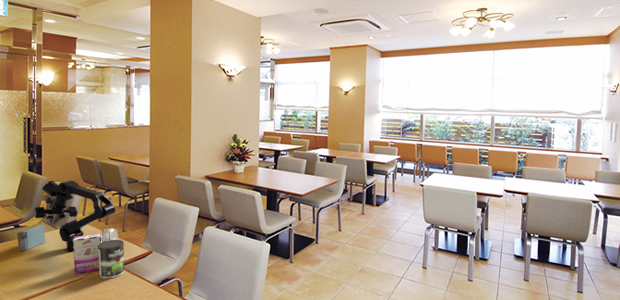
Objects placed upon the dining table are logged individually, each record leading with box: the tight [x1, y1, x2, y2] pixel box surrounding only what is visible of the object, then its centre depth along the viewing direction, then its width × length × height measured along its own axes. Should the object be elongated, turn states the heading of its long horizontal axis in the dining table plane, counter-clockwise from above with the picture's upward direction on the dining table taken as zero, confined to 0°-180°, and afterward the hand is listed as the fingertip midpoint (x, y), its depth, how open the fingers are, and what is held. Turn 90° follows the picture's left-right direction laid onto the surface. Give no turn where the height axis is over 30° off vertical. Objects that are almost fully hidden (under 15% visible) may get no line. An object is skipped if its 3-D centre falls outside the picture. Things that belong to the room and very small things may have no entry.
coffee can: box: [98, 239, 126, 279], centre depth 161 cm, size 10×10×14 cm
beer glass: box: [101, 227, 119, 242], centre depth 175 cm, size 7×7×15 cm
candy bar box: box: [72, 232, 102, 275], centre depth 163 cm, size 11×5×16 cm, turn 117°
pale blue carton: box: [16, 224, 40, 252], centre depth 188 cm, size 4×14×10 cm, turn 174°
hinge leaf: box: [20, 224, 46, 253], centre depth 187 cm, size 2×13×10 cm, turn 174°
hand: (51, 223), depth 189 cm, fingers closed
